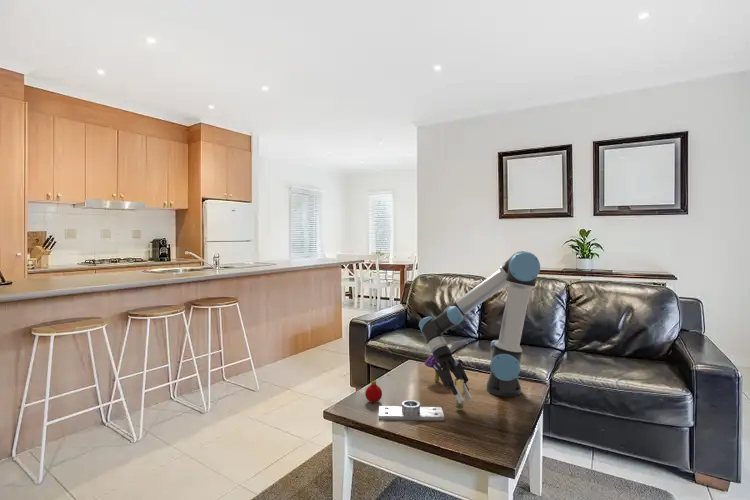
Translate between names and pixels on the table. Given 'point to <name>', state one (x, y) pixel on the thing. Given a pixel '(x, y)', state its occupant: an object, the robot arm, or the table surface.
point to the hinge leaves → (410, 412)
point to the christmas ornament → (373, 392)
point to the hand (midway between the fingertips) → (465, 400)
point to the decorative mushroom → (432, 365)
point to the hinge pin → (460, 385)
